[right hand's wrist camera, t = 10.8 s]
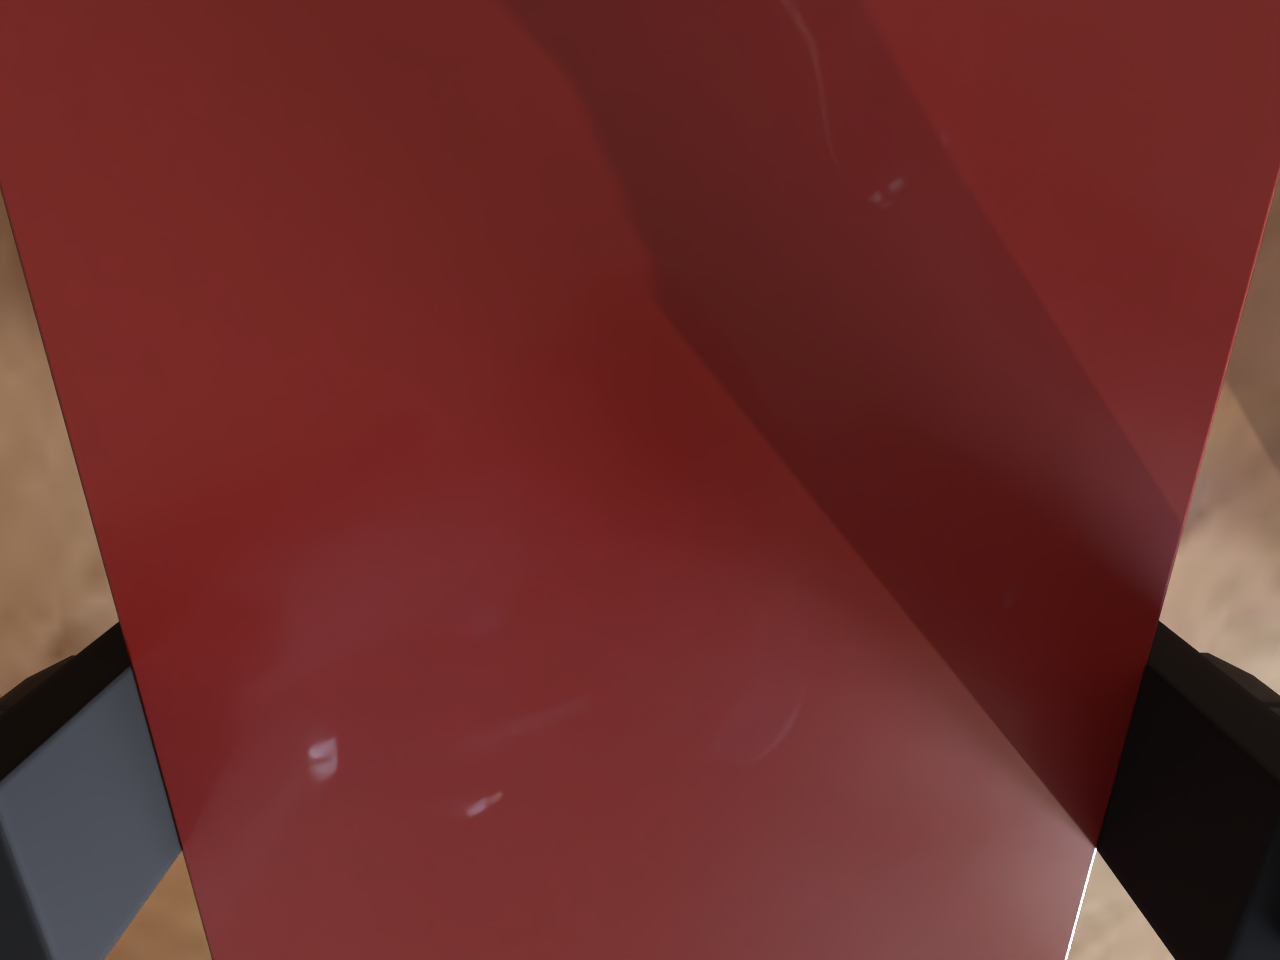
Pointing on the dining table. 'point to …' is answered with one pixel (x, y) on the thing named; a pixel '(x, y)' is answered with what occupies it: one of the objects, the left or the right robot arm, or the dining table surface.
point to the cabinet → (638, 445)
